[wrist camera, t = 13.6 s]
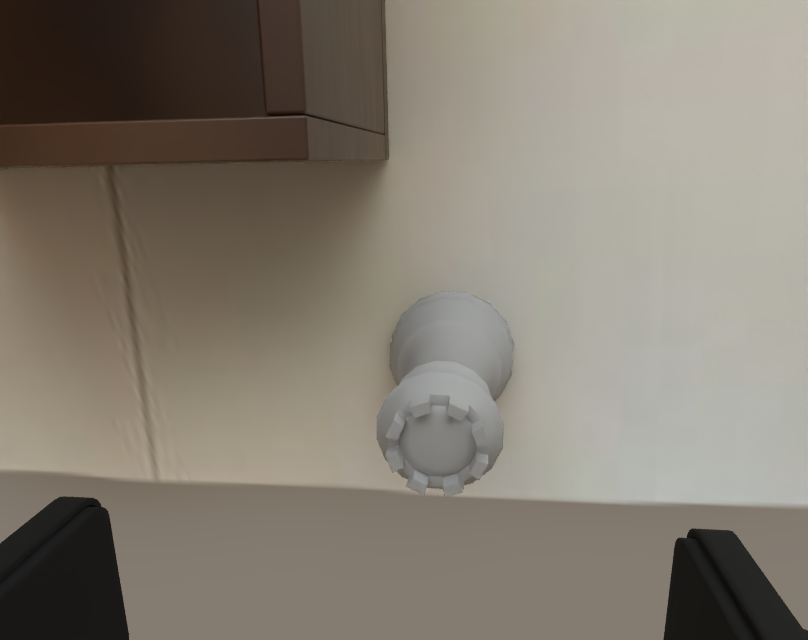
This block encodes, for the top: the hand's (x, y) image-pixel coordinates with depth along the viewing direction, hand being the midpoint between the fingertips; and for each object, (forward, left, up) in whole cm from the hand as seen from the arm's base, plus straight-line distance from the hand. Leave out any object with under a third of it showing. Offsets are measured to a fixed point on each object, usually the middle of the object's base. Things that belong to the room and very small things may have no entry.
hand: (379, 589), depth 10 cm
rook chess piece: (-1, 0, -13) cm, 13 cm away
